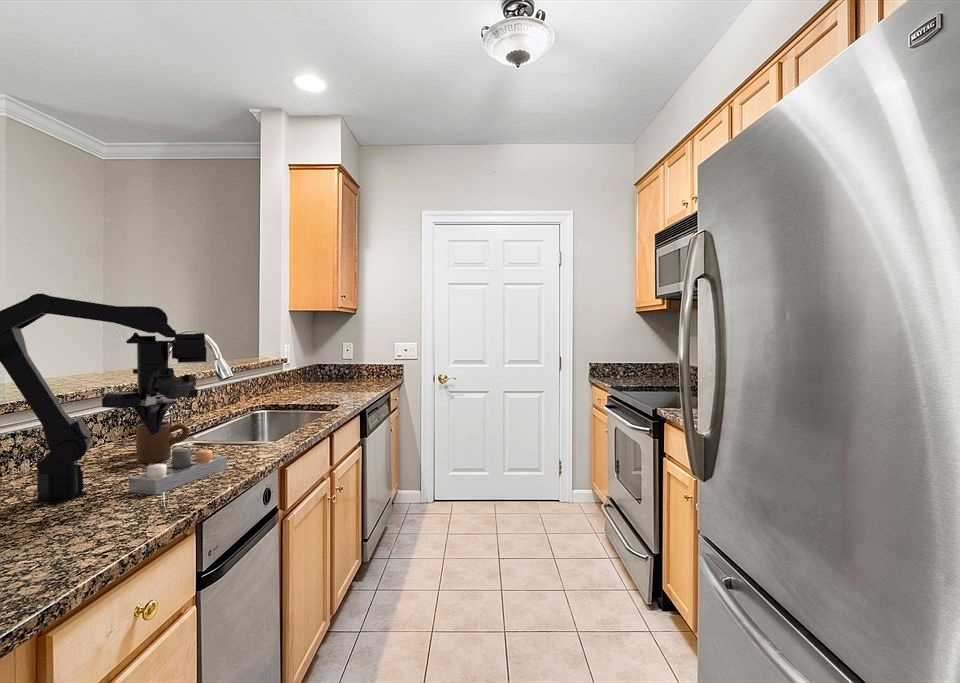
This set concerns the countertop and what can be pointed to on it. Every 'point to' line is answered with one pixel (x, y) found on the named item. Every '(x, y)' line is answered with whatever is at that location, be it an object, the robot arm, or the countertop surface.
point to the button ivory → (156, 470)
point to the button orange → (203, 455)
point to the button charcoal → (181, 459)
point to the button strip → (176, 476)
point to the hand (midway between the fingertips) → (154, 434)
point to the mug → (157, 442)
